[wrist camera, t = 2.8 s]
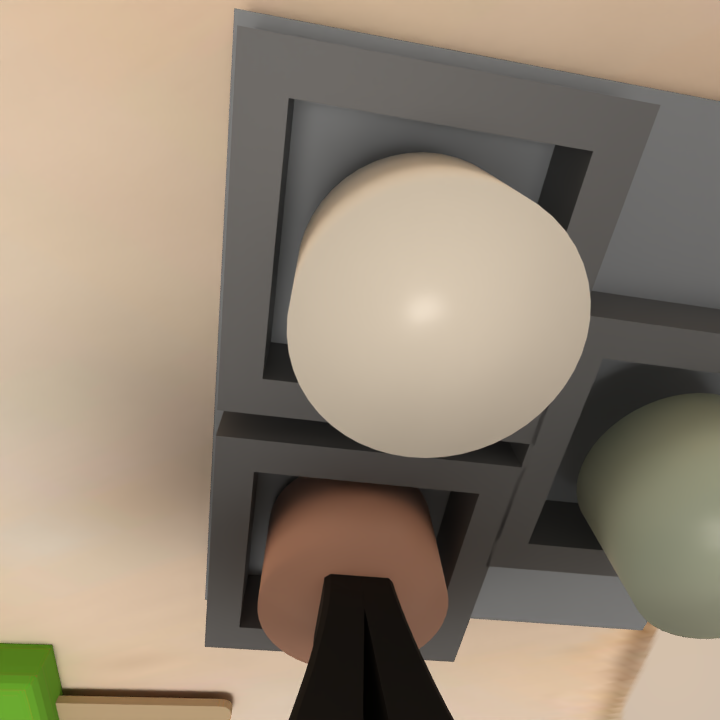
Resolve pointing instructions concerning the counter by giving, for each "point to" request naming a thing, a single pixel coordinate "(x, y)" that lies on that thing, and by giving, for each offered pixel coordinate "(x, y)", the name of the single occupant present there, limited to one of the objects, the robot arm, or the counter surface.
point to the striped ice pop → (82, 713)
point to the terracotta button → (347, 556)
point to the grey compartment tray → (533, 180)
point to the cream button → (434, 307)
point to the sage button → (661, 510)
